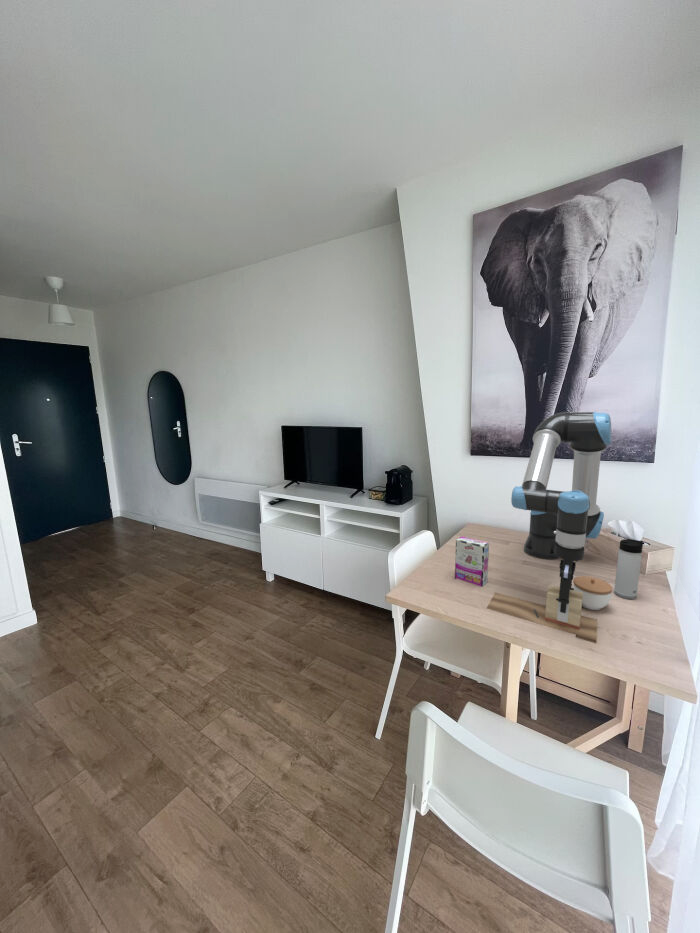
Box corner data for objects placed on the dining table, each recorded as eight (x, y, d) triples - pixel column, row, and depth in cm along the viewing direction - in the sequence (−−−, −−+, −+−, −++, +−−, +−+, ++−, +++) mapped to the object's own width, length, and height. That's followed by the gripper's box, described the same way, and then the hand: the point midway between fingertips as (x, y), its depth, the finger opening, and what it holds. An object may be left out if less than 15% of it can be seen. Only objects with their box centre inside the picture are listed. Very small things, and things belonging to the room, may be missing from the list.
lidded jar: (574, 593, 128) (576, 568, 127) (611, 603, 121) (614, 577, 120) (568, 606, 120) (571, 580, 118) (608, 618, 113) (611, 590, 112)
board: (495, 594, 128) (495, 592, 128) (596, 621, 112) (597, 619, 111) (486, 610, 119) (486, 608, 119) (596, 643, 102) (596, 640, 102)
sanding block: (547, 610, 116) (549, 584, 115) (580, 619, 111) (583, 592, 110) (544, 619, 112) (547, 592, 110) (579, 629, 107) (582, 601, 105)
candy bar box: (487, 583, 136) (490, 542, 133) (482, 588, 133) (484, 546, 130) (460, 574, 144) (461, 535, 141) (454, 579, 140) (455, 539, 137)
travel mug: (640, 601, 122) (647, 545, 119) (617, 597, 125) (623, 542, 121) (633, 592, 128) (640, 538, 125) (611, 589, 130) (617, 536, 127)
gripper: (558, 532, 117) (553, 598, 121) (551, 552, 102) (545, 627, 106) (586, 536, 113) (579, 604, 117) (582, 558, 97) (575, 636, 101)
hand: (563, 615), depth 111 cm, fingers closed on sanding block, 6 cm apart
